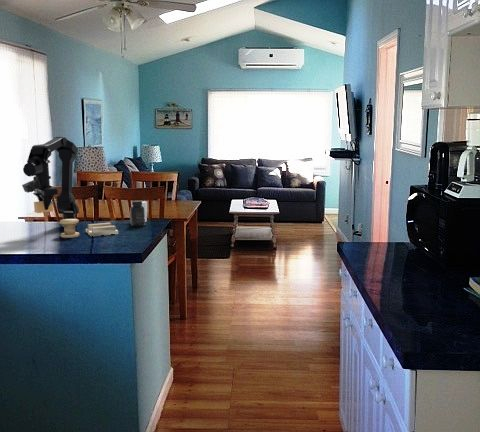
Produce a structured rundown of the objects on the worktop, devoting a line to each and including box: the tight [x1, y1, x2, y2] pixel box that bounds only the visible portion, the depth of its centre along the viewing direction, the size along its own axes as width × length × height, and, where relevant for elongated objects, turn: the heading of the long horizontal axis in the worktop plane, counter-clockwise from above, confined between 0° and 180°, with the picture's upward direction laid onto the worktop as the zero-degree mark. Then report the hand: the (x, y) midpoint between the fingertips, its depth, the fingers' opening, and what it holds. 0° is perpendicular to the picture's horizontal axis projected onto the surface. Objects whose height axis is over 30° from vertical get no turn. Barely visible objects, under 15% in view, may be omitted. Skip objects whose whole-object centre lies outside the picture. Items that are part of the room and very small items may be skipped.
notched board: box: [85, 222, 119, 238], centre depth 253 cm, size 12×12×4 cm
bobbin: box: [59, 218, 80, 239], centre depth 247 cm, size 8×8×7 cm
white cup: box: [131, 200, 148, 223], centre depth 282 cm, size 8×8×10 cm
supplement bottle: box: [129, 200, 146, 227], centre depth 271 cm, size 7×7×12 cm
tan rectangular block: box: [33, 200, 54, 214], centre depth 247 cm, size 4×7×4 cm, turn 130°
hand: (44, 209), depth 247 cm, fingers closed on tan rectangular block, 3 cm apart
